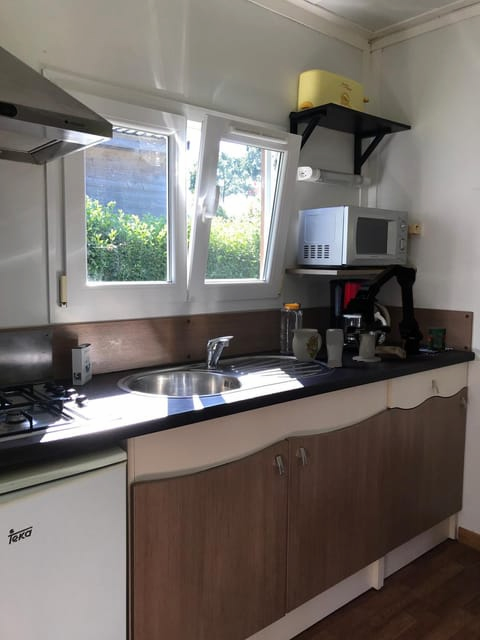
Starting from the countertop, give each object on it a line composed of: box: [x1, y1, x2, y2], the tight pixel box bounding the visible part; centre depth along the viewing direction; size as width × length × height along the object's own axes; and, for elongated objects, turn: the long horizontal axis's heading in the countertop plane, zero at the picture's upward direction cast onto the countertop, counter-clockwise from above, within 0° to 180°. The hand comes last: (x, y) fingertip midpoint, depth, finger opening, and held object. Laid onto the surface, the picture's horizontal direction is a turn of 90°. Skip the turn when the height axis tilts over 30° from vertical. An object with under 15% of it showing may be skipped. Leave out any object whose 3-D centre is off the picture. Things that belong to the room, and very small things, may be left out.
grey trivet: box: [352, 355, 382, 363], centre depth 238 cm, size 12×12×1 cm
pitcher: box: [291, 328, 323, 363], centre depth 236 cm, size 11×18×14 cm, turn 130°
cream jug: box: [358, 333, 376, 357], centre depth 236 cm, size 9×7×9 cm
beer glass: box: [325, 328, 345, 369], centre depth 222 cm, size 7×7×15 cm
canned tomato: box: [427, 326, 447, 353], centre depth 262 cm, size 8×8×11 cm
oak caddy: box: [375, 346, 407, 359], centre depth 248 cm, size 15×14×3 cm
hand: (367, 348), depth 238 cm, fingers closed on cream jug, 7 cm apart
